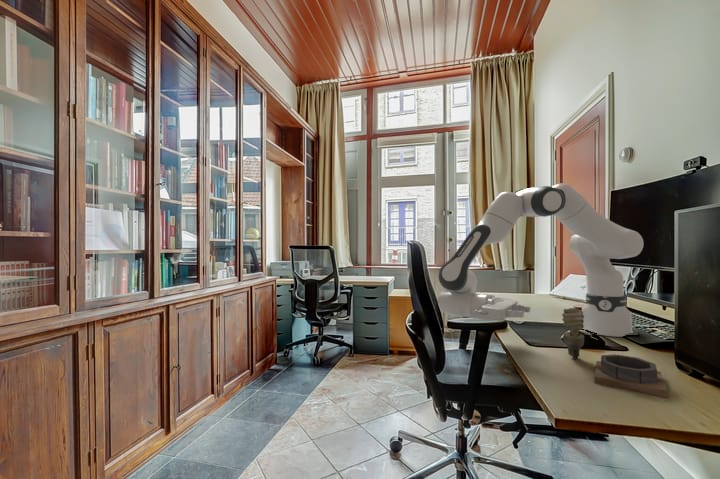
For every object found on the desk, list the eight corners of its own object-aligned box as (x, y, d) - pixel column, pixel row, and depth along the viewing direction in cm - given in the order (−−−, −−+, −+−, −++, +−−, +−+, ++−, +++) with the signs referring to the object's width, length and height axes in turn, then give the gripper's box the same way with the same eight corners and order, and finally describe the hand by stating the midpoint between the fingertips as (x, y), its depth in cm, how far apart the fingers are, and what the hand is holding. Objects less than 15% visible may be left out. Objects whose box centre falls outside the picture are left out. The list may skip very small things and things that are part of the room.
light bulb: (589, 362, 91) (587, 310, 91) (568, 361, 92) (566, 309, 92) (580, 355, 97) (578, 306, 97) (560, 354, 98) (558, 306, 98)
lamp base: (596, 366, 88) (596, 350, 88) (660, 377, 80) (660, 359, 80) (594, 382, 78) (593, 364, 78) (667, 397, 70) (666, 377, 70)
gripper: (472, 302, 103) (519, 307, 94) (491, 294, 119) (533, 298, 110) (472, 321, 103) (519, 328, 94) (491, 311, 119) (533, 316, 110)
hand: (527, 312), depth 102 cm, fingers open, 8 cm apart
